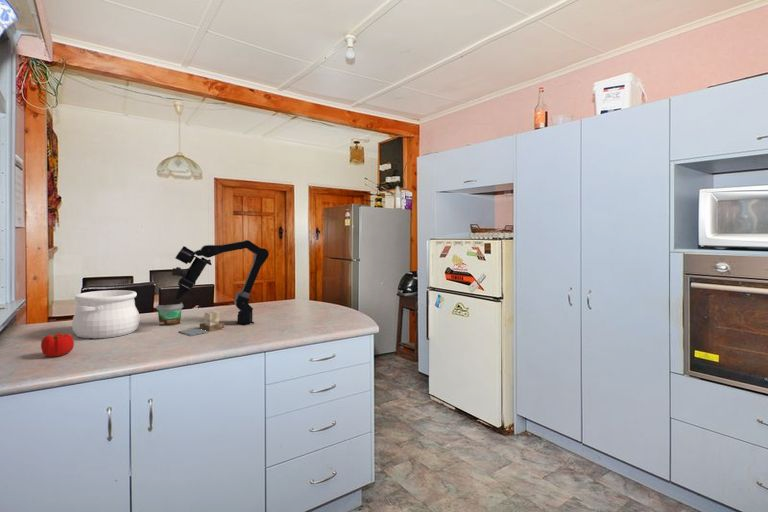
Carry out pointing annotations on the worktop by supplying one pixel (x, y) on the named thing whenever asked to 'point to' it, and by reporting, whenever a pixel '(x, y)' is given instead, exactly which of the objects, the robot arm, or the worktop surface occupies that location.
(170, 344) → the worktop surface
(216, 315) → the birch block
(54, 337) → the tomato
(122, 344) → the worktop surface
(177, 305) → the food container
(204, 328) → the walnut pocket
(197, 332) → the slate mat
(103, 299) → the pot
